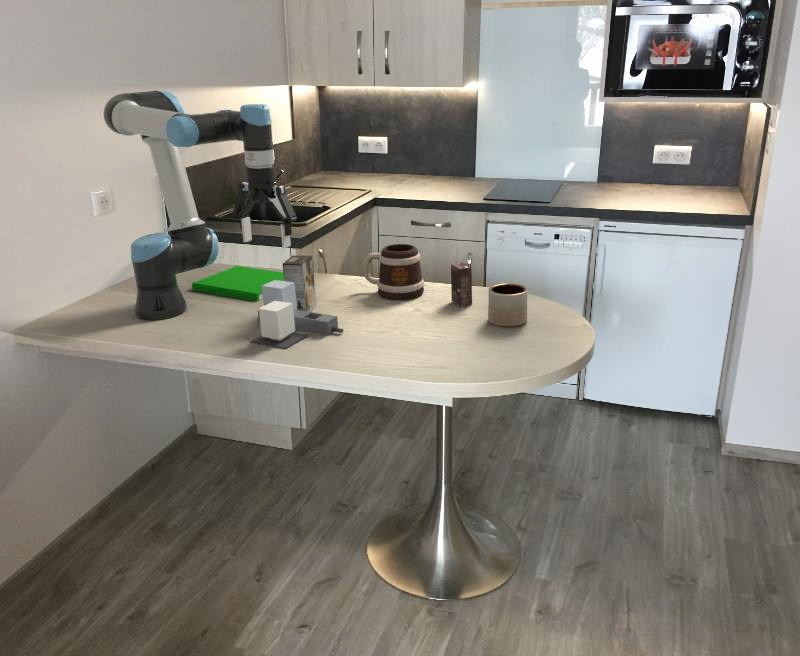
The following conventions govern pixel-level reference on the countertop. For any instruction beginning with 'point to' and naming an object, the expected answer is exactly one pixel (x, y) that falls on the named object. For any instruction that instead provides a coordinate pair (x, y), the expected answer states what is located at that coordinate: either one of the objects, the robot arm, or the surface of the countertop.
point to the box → (461, 284)
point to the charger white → (277, 320)
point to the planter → (507, 305)
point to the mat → (283, 344)
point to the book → (238, 282)
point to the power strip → (315, 322)
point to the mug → (397, 272)
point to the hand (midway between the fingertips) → (266, 244)
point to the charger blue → (279, 292)
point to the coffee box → (301, 280)
